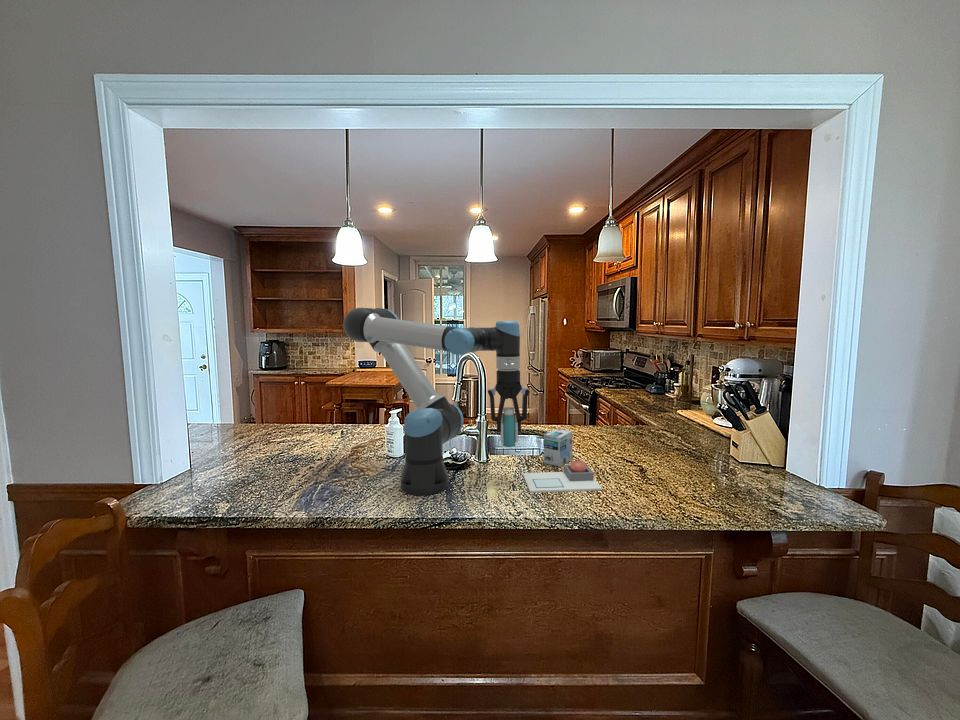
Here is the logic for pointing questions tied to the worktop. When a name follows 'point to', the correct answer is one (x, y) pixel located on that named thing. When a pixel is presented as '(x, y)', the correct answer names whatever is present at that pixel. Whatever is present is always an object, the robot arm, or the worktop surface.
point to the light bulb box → (558, 447)
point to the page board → (561, 481)
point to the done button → (577, 466)
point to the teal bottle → (508, 427)
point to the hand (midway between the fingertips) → (509, 441)
